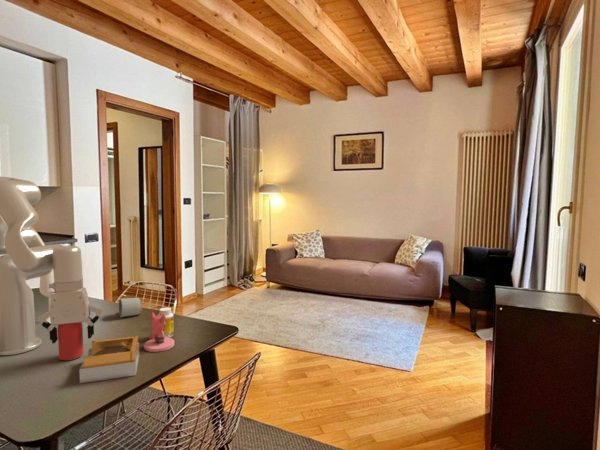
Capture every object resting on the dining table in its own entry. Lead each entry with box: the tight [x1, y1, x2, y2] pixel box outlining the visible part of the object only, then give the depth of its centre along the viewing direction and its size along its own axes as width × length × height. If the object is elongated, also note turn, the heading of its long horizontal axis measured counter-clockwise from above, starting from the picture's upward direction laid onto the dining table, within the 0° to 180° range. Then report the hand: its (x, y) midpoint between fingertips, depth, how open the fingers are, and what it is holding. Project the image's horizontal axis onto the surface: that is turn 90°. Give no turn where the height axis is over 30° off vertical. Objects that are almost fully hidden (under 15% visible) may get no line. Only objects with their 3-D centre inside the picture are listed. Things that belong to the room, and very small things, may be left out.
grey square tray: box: [78, 335, 140, 384], centre depth 108 cm, size 14×14×6 cm
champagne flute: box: [39, 270, 54, 323], centre depth 144 cm, size 7×7×24 cm
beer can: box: [57, 322, 84, 362], centre depth 114 cm, size 7×7×12 cm
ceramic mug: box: [118, 297, 143, 318], centre depth 154 cm, size 11×8×8 cm
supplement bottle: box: [156, 307, 175, 338], centre depth 131 cm, size 6×6×10 cm
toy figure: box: [143, 310, 175, 353], centre depth 123 cm, size 10×10×12 cm
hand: (72, 339), depth 114 cm, fingers open, 9 cm apart
